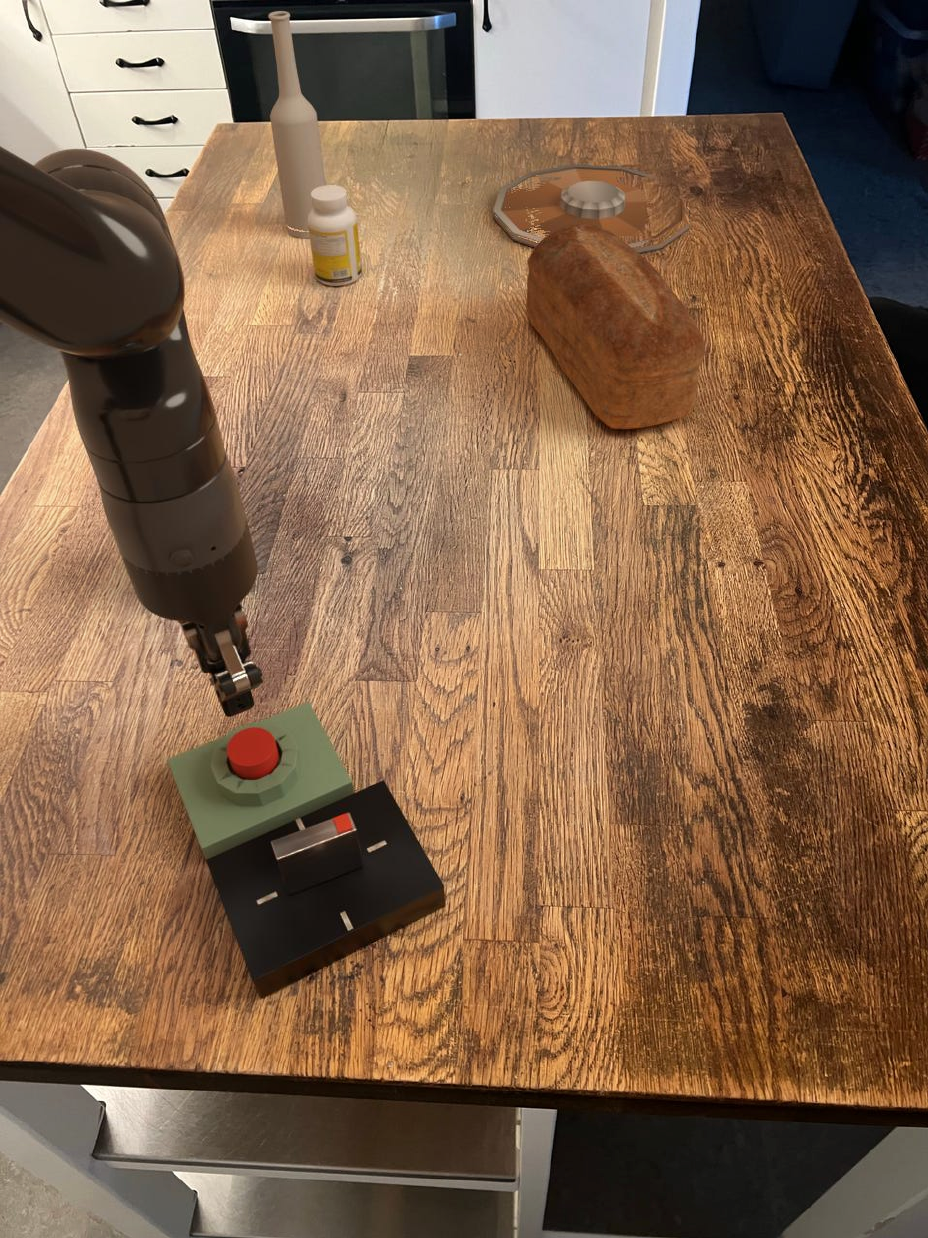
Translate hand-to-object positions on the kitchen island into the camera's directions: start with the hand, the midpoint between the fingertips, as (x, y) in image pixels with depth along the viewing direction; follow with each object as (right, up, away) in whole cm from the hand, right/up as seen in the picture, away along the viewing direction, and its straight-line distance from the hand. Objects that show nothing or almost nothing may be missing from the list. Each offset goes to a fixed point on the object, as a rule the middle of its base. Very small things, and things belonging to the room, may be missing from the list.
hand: (237, 705), depth 69 cm
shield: (+36, +67, +76) cm, 108 cm away
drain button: (0, -5, +5) cm, 6 cm away
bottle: (-7, +64, +75) cm, 99 cm away
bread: (+33, +37, +48) cm, 69 cm away
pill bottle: (-1, +53, +64) cm, 84 cm away
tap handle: (+6, -12, -2) cm, 13 cm away
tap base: (+6, -14, +1) cm, 15 cm away
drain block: (0, -7, +7) cm, 10 cm away
